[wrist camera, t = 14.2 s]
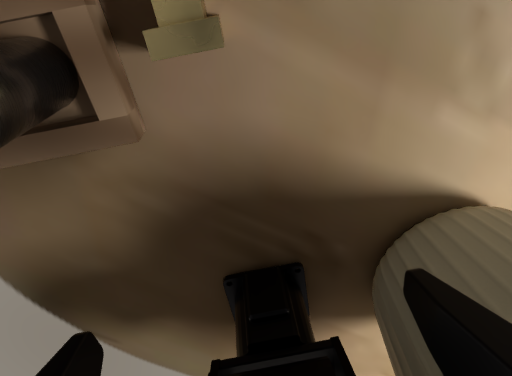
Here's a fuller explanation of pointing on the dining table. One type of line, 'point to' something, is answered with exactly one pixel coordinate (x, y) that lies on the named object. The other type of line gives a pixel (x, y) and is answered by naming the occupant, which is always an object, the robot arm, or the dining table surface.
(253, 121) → the dining table surface
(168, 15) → the drift key
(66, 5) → the brown square frame
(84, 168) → the dining table surface
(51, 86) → the grey peg
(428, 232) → the canister
